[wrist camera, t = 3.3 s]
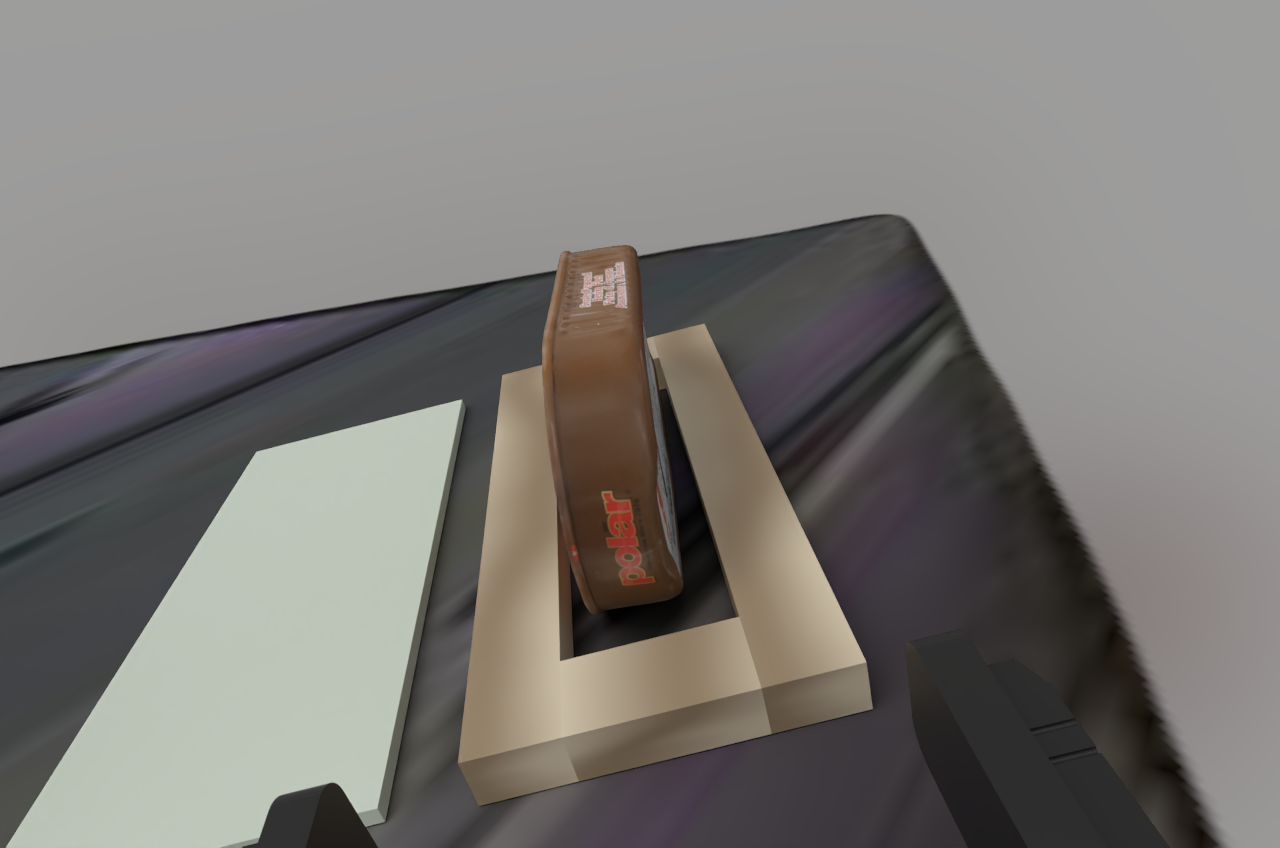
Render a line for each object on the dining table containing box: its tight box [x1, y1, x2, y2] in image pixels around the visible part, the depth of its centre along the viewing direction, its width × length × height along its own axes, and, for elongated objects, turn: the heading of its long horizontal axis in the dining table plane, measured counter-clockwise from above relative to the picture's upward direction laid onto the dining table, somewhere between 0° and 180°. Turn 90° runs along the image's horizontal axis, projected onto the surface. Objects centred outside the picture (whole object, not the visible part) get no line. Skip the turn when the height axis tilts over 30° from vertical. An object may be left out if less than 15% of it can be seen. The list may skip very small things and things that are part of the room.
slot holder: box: [458, 324, 873, 806], centre depth 28 cm, size 9×21×2 cm, turn 6°
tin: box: [542, 245, 683, 615], centre depth 26 cm, size 15×3×8 cm, turn 2°
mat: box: [6, 400, 466, 848], centre depth 29 cm, size 10×22×1 cm, turn 6°
